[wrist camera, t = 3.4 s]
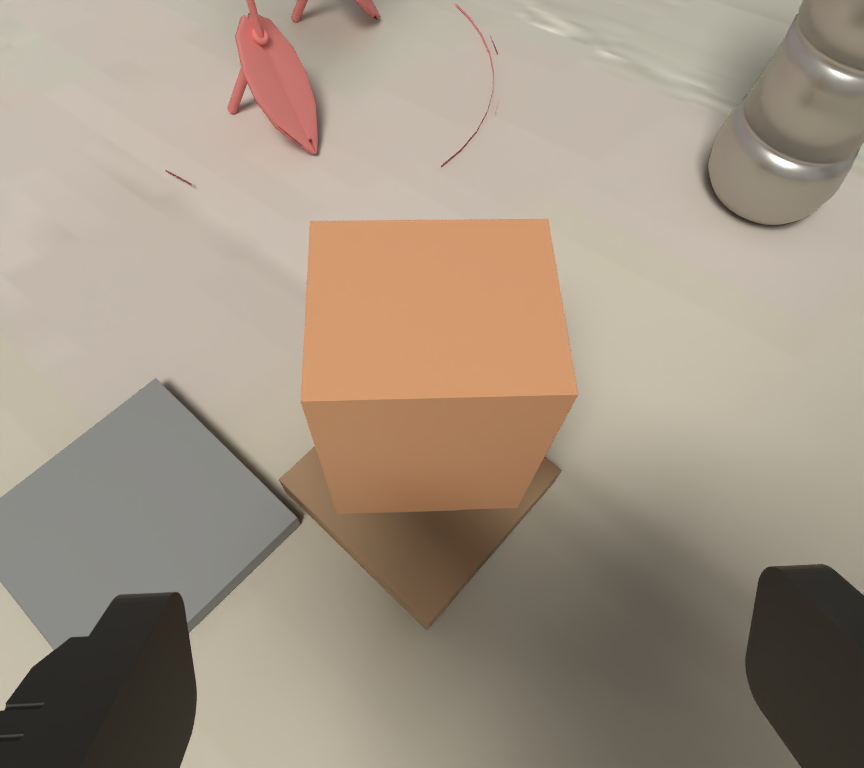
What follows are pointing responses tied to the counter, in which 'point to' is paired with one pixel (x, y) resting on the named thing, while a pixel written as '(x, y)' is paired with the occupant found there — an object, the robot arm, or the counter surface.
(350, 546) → the post stand
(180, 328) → the counter surface
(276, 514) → the mat
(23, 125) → the counter surface
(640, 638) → the counter surface
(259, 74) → the figurine
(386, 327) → the tall orange box
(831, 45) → the plastic bottle
